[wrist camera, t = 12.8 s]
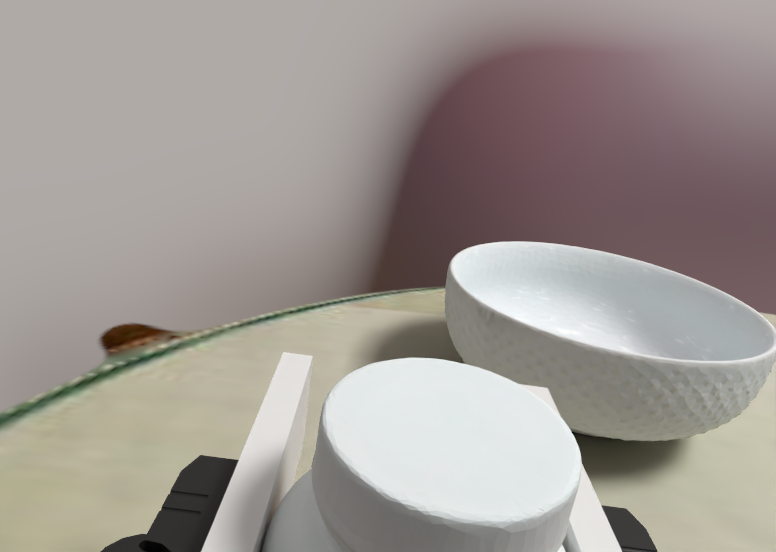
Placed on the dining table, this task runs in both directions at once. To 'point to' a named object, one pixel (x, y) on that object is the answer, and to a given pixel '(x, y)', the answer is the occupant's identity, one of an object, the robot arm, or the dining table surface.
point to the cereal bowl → (608, 338)
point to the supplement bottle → (432, 466)
